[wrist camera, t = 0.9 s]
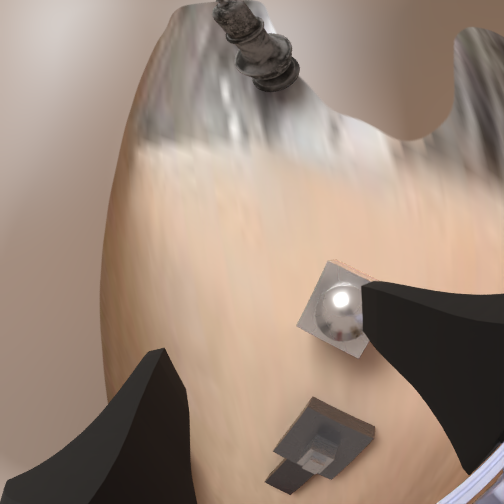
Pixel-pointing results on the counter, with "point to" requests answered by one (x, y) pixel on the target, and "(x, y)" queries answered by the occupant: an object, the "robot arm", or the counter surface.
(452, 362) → the robot arm
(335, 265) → the cube with round knob
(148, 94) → the counter surface
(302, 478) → the dark grey piece
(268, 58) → the salt shaker
